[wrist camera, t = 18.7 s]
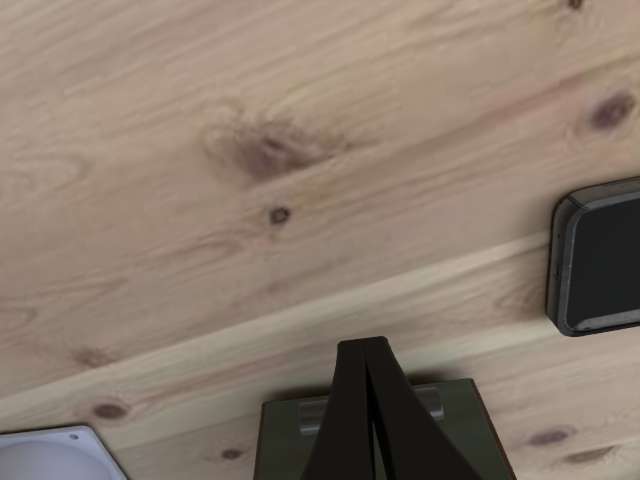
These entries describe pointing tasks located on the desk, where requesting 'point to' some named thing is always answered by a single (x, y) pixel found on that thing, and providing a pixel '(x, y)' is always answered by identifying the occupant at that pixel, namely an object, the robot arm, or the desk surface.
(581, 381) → the desk surface
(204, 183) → the desk surface
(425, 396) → the drawer
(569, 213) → the phone
